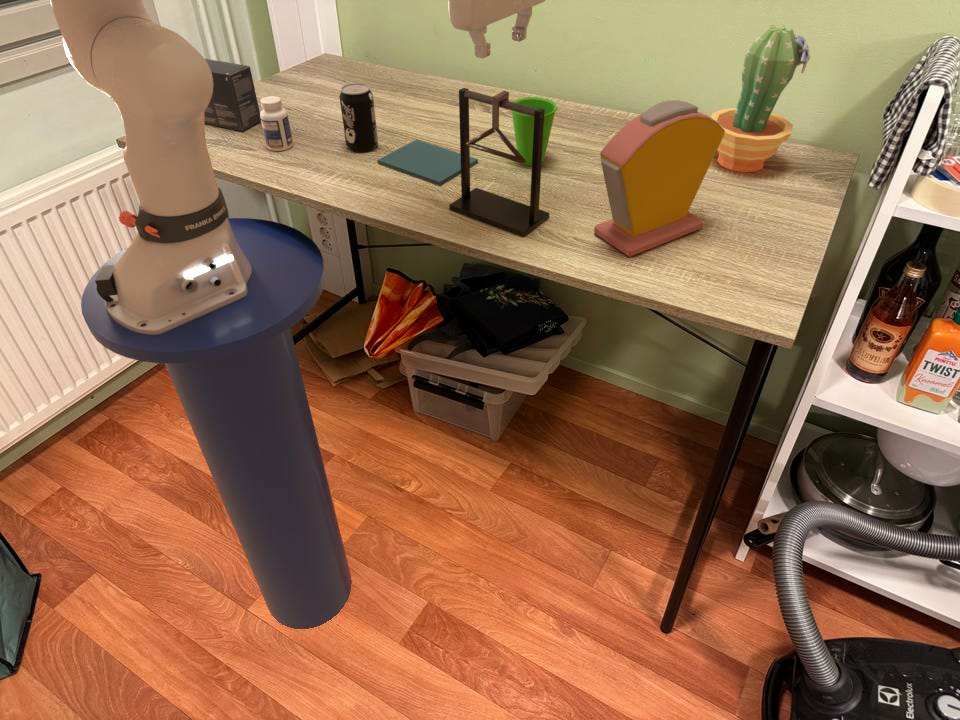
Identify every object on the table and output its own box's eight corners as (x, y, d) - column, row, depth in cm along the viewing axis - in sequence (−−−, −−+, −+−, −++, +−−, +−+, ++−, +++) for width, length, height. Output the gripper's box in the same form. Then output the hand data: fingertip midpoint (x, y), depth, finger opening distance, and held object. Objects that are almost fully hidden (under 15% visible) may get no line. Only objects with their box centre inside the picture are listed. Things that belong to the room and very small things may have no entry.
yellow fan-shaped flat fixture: (675, 202, 123) (700, 81, 108) (714, 225, 117) (746, 99, 102) (580, 238, 114) (593, 110, 100) (616, 264, 108) (636, 132, 94)
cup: (534, 175, 131) (537, 119, 124) (499, 161, 136) (500, 106, 128) (562, 160, 136) (567, 105, 129) (527, 147, 140) (530, 93, 133)
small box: (263, 121, 151) (251, 65, 143) (243, 132, 147) (229, 75, 139) (217, 111, 156) (203, 56, 148) (196, 122, 151) (180, 66, 143)
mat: (440, 185, 128) (439, 182, 127) (377, 163, 135) (377, 159, 135) (478, 162, 135) (478, 159, 135) (416, 142, 142) (416, 139, 142)
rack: (523, 237, 114) (528, 119, 101) (449, 209, 121) (444, 96, 108) (549, 218, 119) (557, 102, 105) (476, 192, 126) (475, 81, 113)
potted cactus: (765, 187, 127) (807, 46, 110) (687, 165, 134) (716, 29, 117) (792, 158, 136) (835, 24, 119) (718, 138, 143) (749, 9, 126)
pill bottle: (285, 138, 144) (275, 92, 138) (298, 146, 141) (289, 99, 135) (262, 146, 142) (251, 99, 135) (275, 154, 139) (265, 106, 132)
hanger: (523, 165, 109) (526, 106, 102) (465, 146, 114) (464, 89, 108) (535, 157, 111) (537, 99, 104) (477, 139, 116) (476, 83, 110)
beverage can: (340, 148, 140) (331, 89, 133) (361, 137, 145) (354, 79, 137) (363, 156, 138) (356, 96, 130) (385, 144, 142) (378, 86, 134)
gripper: (525, -74, 100) (522, 27, 109) (437, -49, 88) (442, 62, 97) (562, -69, 97) (555, 34, 106) (477, -43, 85) (478, 71, 94)
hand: (501, 48), depth 102 cm, fingers open, 8 cm apart
